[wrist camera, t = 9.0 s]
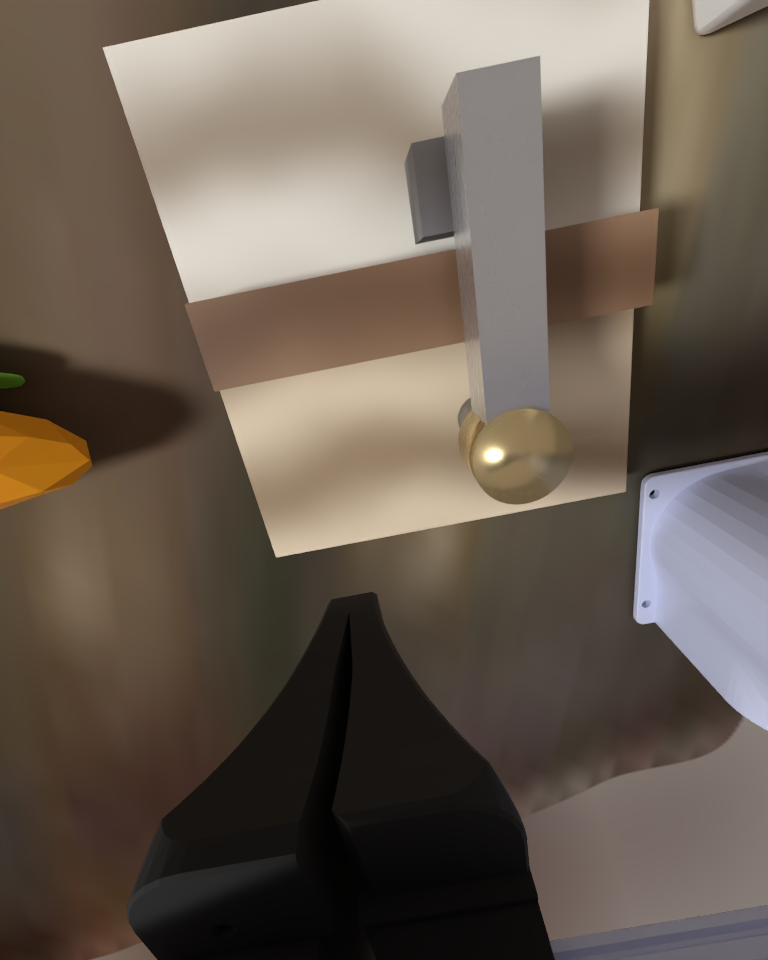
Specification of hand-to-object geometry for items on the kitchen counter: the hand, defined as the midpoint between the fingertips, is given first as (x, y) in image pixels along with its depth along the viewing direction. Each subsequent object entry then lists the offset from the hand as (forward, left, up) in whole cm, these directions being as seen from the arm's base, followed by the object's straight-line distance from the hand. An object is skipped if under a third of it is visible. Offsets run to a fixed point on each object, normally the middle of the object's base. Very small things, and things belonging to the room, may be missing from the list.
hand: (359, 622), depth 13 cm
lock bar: (+7, -6, -5) cm, 11 cm away
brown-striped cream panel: (+8, -4, -9) cm, 13 cm away
